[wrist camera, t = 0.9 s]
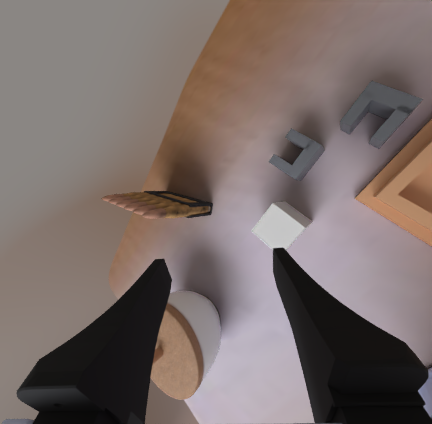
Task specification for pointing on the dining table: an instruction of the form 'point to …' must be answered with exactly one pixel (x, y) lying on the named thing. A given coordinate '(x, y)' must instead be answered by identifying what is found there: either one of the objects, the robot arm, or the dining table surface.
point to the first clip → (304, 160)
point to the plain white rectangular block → (281, 225)
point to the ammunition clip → (161, 204)
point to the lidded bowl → (186, 344)
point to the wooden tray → (406, 187)
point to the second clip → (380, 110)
